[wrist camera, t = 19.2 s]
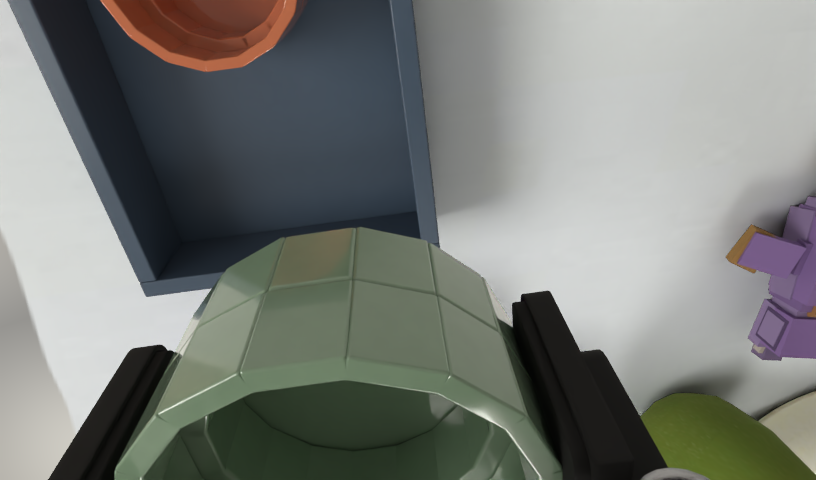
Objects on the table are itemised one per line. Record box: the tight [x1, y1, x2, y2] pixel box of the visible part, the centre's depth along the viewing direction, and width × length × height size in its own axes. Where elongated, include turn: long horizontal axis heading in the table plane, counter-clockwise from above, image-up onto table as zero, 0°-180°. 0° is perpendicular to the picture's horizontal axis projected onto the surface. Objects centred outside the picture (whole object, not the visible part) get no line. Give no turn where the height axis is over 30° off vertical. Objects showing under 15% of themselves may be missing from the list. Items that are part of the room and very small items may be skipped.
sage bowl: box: [114, 227, 563, 480], centre depth 10 cm, size 7×7×4 cm
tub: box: [8, 0, 440, 297], centre depth 21 cm, size 18×14×4 cm
